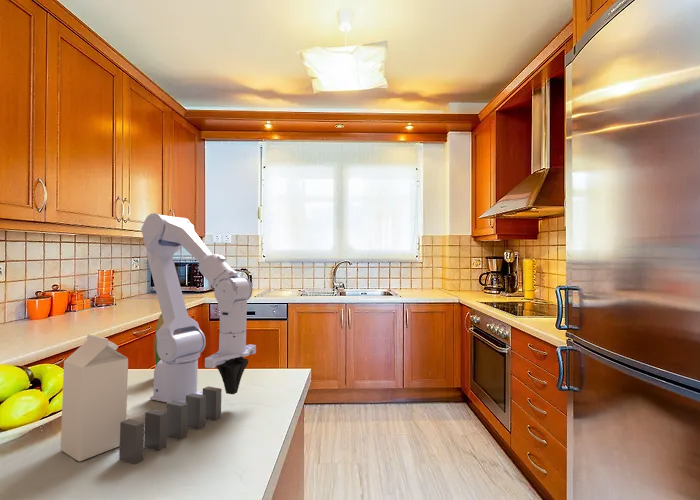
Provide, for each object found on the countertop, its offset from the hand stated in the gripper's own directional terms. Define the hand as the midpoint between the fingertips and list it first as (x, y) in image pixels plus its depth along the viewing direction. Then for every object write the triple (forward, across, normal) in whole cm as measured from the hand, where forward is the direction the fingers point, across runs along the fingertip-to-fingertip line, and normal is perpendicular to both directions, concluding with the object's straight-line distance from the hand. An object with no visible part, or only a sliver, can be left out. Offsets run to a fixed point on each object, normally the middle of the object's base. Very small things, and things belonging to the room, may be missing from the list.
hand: (231, 393), depth 83 cm
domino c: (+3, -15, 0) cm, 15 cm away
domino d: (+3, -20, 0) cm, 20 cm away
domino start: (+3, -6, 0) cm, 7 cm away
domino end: (+3, -24, 0) cm, 24 cm away
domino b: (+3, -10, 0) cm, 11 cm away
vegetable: (+3, +10, +31) cm, 33 cm away
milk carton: (+3, -24, +10) cm, 26 cm away
